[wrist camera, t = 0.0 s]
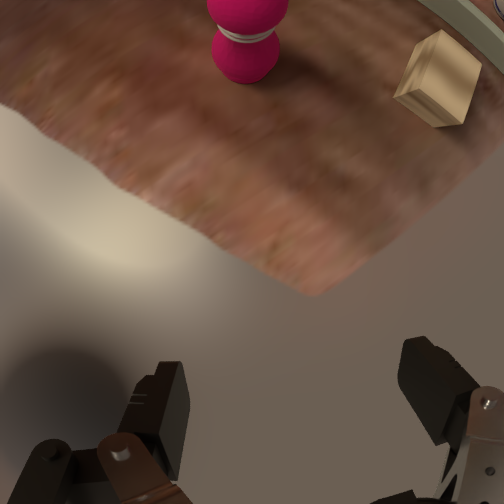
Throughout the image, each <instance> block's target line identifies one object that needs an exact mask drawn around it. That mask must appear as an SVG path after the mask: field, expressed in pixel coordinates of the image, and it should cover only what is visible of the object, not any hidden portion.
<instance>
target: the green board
mask: <svg viewBox="0 0 504 504" xmlns="http://www.w3.org/2000/svg"><path fill="white" fill-rule="evenodd" d="M418 1H419V2H420V3H422V4H423V5H425V6H426V7H427V8H429V9H430V10H432V11H433V12H434V13H436V14H437V15H438V16H439V17H441V18H442V19H443V20H445V21H446V22H447V23H448V24H450V25H451V26H452V27H453V28H454V29H456V30H457V31H458V32H459V33H460V34H462V35H463V36H464V37H465V38H466V39H467V40H468V41H470V42H471V43H472V44H473V45H474V46H475V47H476V48H477V49H478V50H479V51H481V52H482V53H483V54H484V55H485V56H486V57H487V58H488V59H489V60H490V61H491V62H492V63H493V64H494V65H495V66H496V67H497V68H498V69H499V70H500V71H501V72H502V73H503V74H504V33H503V32H502V31H501V30H500V29H499V28H498V27H497V26H496V25H495V24H494V23H493V22H492V21H491V20H490V19H489V18H488V17H487V16H486V15H485V14H484V13H482V12H481V11H480V10H479V9H478V8H477V7H476V6H475V5H474V4H472V3H471V2H470V1H469V0H418Z"/></svg>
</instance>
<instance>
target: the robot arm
mask: <svg viewBox="0 0 504 504" xmlns="http://www.w3.org/2000/svg"><path fill="white" fill-rule="evenodd" d="M398 384H399V387H400V389H401V391H402V392H403V394H404V395H405V397H406V399H407V400H408V402H409V403H410V405H411V406H412V408H413V410H414V411H415V413H416V414H417V416H418V417H419V419H420V421H421V422H422V424H423V426H424V427H425V429H426V431H427V432H428V434H429V435H430V437H431V439H432V441H433V442H434V444H435V446H437V445H440V444H443V443H446V442H448V443H449V445H450V446H449V448H448V450H447V453H446V457H445V461H444V465H443V469H442V472H441V476H440V479H439V482H438V486H437V489H436V491H435V494H434V496H433V498H416V496H415V494H414V492H413V490H409V491H406V492H403V493H399V494H396V495H393V496H389V497H386V498H382V499H378V500H377V501H374V502H373V503H370V504H504V393H503V392H502V391H501V390H499V389H497V388H495V387H490V386H483V387H480V385H479V384H478V383H477V382H476V381H475V380H474V379H473V378H472V377H471V376H470V375H469V374H468V372H466V370H465V369H464V368H463V367H461V365H460V364H459V363H458V362H457V361H455V359H454V358H453V357H452V356H451V355H450V353H449V352H447V351H446V350H444V349H442V348H440V347H438V346H434V345H433V344H432V343H431V342H430V341H429V340H428V339H427V338H426V337H425V336H420V337H415V338H410V339H406V340H405V341H404V343H403V348H402V353H401V359H400V364H399V369H398ZM189 412H190V398H189V392H188V388H187V383H186V378H185V374H184V370H183V365H182V363H181V362H180V361H166V362H164V361H161V362H159V364H158V366H157V369H156V372H155V374H154V375H146V376H145V377H144V378H143V379H142V380H140V381H139V382H138V383H137V385H136V387H135V390H134V392H133V396H131V399H130V402H129V404H128V406H127V408H126V411H125V413H124V416H123V418H122V421H121V423H120V425H119V428H118V430H117V433H115V434H111V435H109V436H107V437H106V438H104V439H103V440H102V441H101V442H100V443H99V445H98V447H97V448H94V449H87V450H76V451H72V450H71V448H70V447H69V445H68V444H67V443H66V442H64V441H62V440H59V439H49V440H45V441H43V442H41V443H39V444H38V445H37V446H36V447H35V448H34V449H33V451H32V452H31V455H30V456H29V459H28V460H27V462H26V464H25V467H24V469H23V471H22V473H21V475H20V477H19V479H18V481H17V483H16V485H15V488H14V490H13V492H12V494H11V496H10V498H9V501H8V503H7V504H193V503H192V502H191V501H190V500H189V498H188V497H187V496H186V495H185V494H184V492H183V491H182V490H181V489H180V488H179V487H178V486H177V485H176V484H174V485H173V484H172V483H171V482H170V480H171V481H177V480H178V475H179V469H180V463H181V457H182V451H183V445H184V440H185V434H186V428H187V423H188V418H189Z"/></svg>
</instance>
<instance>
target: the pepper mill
mask: <svg viewBox="0 0 504 504" xmlns="http://www.w3.org/2000/svg"><path fill="white" fill-rule="evenodd" d="M207 7H208V11H209V14H210V16H211V17H212V19H213V20H214V21H215V22H216V23H217V25H218V27H219V30H218V31H217V33H216V34H215V36H214V39H213V42H212V57H213V60H214V62H215V64H216V65H217V67H218V68H219V69H220V70H221V71H222V73H223V74H224V75H225V76H226V77H227V78H228V79H230V80H232V81H234V82H236V83H241V84H249V83H254V82H256V81H259V80H261V79H262V78H263V77H264V76H266V74H267V73H268V72H269V71H270V70H271V69H272V68H273V67H274V66H275V64H276V62H277V60H278V57H279V52H280V44H279V39H278V37H277V35H276V33H275V31H274V29H275V27H276V25H278V24H279V22H280V21H281V20H282V19H283V18H284V16H285V14H286V11H287V8H288V0H207Z"/></svg>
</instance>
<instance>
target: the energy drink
mask: <svg viewBox="0 0 504 504" xmlns="http://www.w3.org/2000/svg"><path fill="white" fill-rule="evenodd" d="M493 4H494V8H495V10H496V12H497V13H498V15H499V16H500V17H501V18H502V19H503V20H504V0H494V2H493Z"/></svg>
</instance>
